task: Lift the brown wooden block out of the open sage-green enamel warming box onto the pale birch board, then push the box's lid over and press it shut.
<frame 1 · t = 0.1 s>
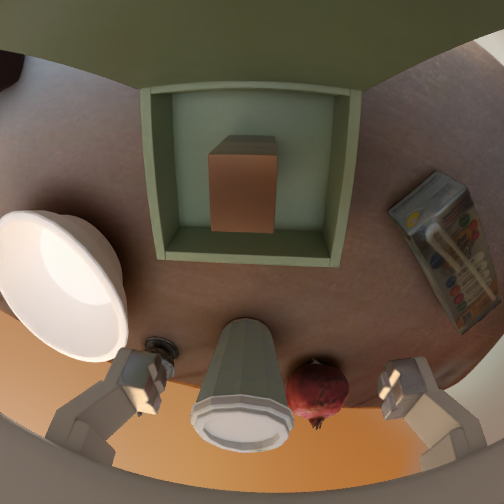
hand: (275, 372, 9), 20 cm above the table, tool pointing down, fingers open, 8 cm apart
dark brown plant pot: (3, 67, 19), on the table
fruit: (314, 369, 40), on the table
disposable coffee cup: (249, 332, 37), on the table
beverage carton: (442, 246, 29), on the table
green box base: (251, 160, 25), on the table
bowl: (81, 259, 32), on the table
brown wooden block: (251, 162, 25), point 1 cm above the table, touching green box base
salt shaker: (161, 347, 40), on the table
lid: (235, 30, 9), point 14 cm above the table, hinge at 100.0°
when the fingers open (7 cm above the table, at t = 11.2 s): brown wooden block stays where it is, resting on board.
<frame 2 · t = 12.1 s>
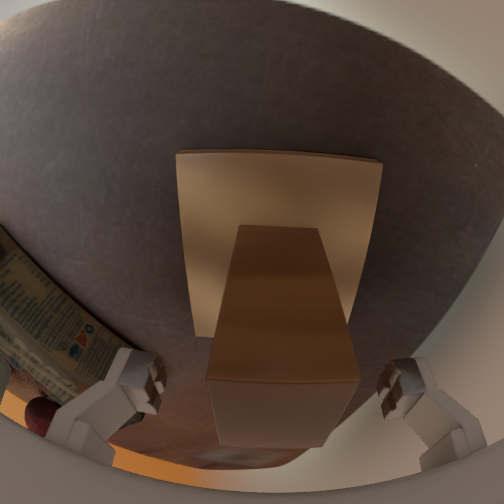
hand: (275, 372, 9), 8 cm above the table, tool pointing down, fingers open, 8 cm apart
fruit: (60, 404, 32), on the table
beverage carton: (62, 313, 21), on the table
brown wooden block: (275, 267, 16), point 1 cm above the table, touching board
board: (275, 256, 16), on the table
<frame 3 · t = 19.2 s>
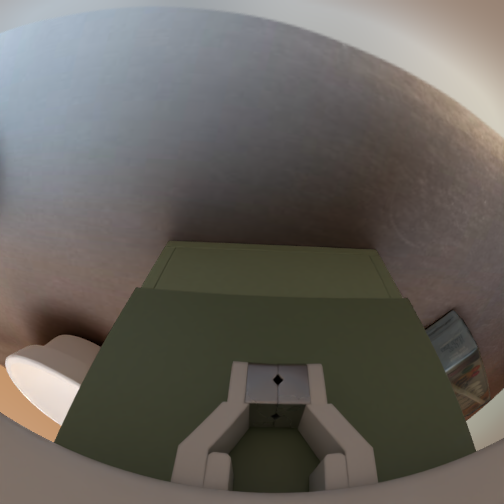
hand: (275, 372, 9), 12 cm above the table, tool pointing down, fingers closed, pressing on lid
beverage carton: (445, 359, 28), on the table
green box base: (268, 318, 25), on the table
bowl: (96, 365, 32), on the table
lid: (274, 436, 8), point 14 cm above the table, hinge at 91.8°, touching gripper
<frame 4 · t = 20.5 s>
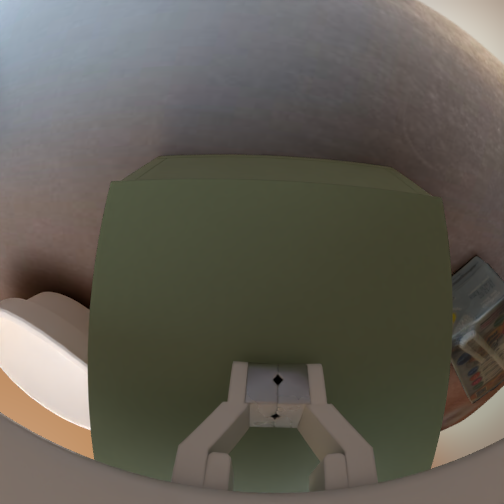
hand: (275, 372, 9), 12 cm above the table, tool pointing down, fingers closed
beverage carton: (467, 322, 25), on the table
green box base: (272, 255, 21), on the table
bowl: (78, 332, 28), on the table
lid: (275, 376, 10), point 12 cm above the table, hinge at 44.1°
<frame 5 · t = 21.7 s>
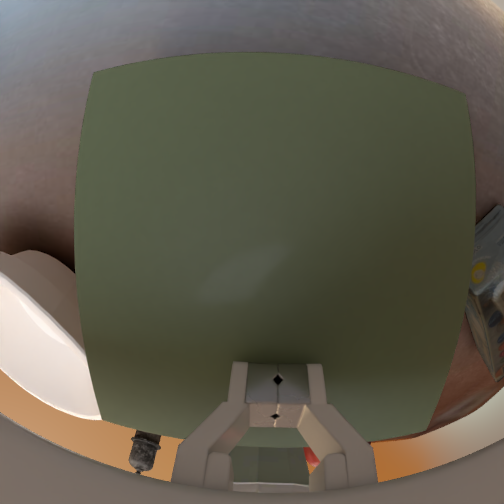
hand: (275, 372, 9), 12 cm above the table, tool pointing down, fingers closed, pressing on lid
disposable coffee cup: (262, 385, 29), on the table
beverage carton: (489, 288, 21), on the table
bowl: (58, 300, 25), on the table
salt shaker: (159, 394, 32), on the table
lid: (281, 269, 10), point 10 cm above the table, hinge at 24.0°, touching gripper
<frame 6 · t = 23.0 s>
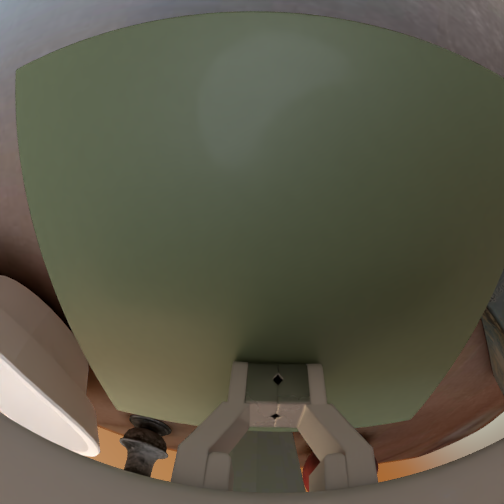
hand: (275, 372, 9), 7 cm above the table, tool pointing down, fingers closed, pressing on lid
fruit: (337, 443, 29), on the table
disposable coffee cup: (260, 420, 25), on the table
bowl: (35, 327, 21), on the table
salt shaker: (150, 423, 28), on the table
lid: (280, 308, 8), point 7 cm above the table, hinge at 1.4°, touching gripper
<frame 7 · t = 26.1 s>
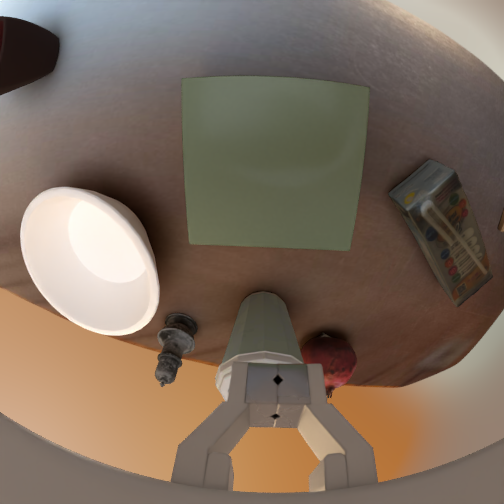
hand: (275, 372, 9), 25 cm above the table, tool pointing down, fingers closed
dark brown plant pot: (36, 58, 23), on the table
fruit: (323, 343, 44), on the table
disposable coffee cup: (265, 306, 41), on the table
beverage carton: (437, 227, 33), on the table
bowl: (109, 238, 36), on the table
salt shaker: (181, 324, 44), on the table
lid: (273, 165, 24), point 7 cm above the table, hinge at 1.2°
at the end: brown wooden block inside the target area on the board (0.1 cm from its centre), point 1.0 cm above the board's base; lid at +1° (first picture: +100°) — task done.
